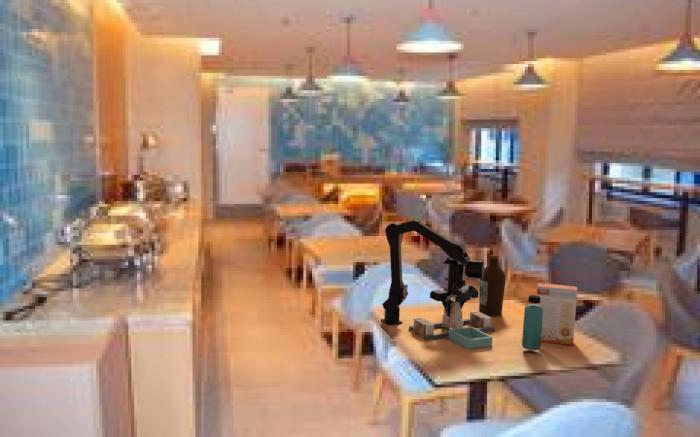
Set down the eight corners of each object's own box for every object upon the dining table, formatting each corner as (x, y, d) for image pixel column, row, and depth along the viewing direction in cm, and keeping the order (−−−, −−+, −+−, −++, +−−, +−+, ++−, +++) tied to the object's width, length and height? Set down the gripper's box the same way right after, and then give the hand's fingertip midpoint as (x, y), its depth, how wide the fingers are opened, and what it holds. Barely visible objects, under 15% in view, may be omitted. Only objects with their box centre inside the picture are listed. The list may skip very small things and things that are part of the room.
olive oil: (496, 309, 274) (500, 252, 270) (507, 316, 263) (511, 257, 260) (473, 310, 271) (477, 252, 268) (484, 317, 261) (488, 257, 257)
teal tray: (448, 339, 232) (448, 329, 232) (471, 335, 237) (471, 326, 236) (468, 349, 221) (468, 340, 221) (491, 346, 226) (492, 337, 225)
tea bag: (451, 322, 246) (452, 297, 244) (461, 328, 240) (463, 302, 238) (443, 323, 244) (444, 298, 243) (453, 329, 238) (455, 303, 237)
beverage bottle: (541, 355, 218) (545, 299, 216) (521, 353, 220) (525, 297, 217) (539, 349, 225) (544, 294, 222) (520, 347, 226) (524, 292, 223)
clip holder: (408, 329, 241) (409, 317, 241) (475, 321, 255) (475, 309, 254) (426, 340, 230) (427, 326, 229) (495, 331, 243) (495, 318, 243)
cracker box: (573, 341, 235) (577, 286, 232) (573, 346, 229) (578, 289, 226) (533, 335, 240) (538, 281, 237) (532, 340, 234) (537, 285, 231)
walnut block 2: (470, 325, 250) (471, 313, 249) (479, 324, 252) (479, 312, 251) (480, 330, 244) (481, 317, 244) (488, 328, 246) (489, 316, 245)
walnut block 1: (414, 332, 239) (415, 319, 238) (423, 331, 240) (424, 318, 240) (422, 337, 233) (423, 324, 233) (432, 336, 235) (432, 323, 234)
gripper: (447, 282, 228) (444, 324, 230) (488, 279, 236) (485, 319, 238) (430, 275, 238) (427, 316, 240) (470, 272, 246) (468, 311, 248)
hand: (452, 316), depth 242 cm, fingers closed on tea bag, 4 cm apart
